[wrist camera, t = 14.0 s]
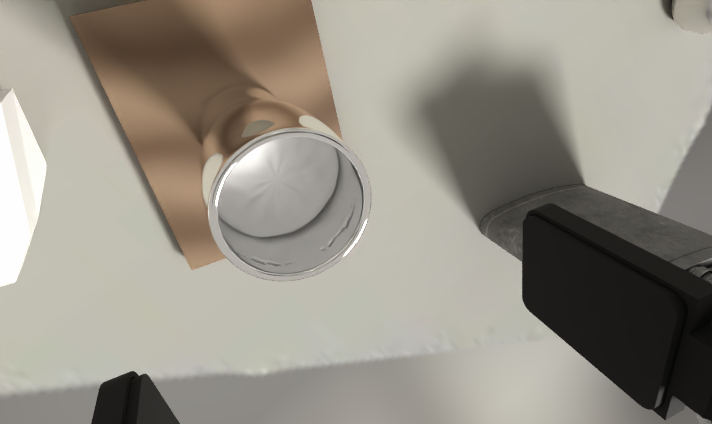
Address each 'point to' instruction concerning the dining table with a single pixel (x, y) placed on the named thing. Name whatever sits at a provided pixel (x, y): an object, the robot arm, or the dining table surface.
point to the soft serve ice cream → (17, 186)
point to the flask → (606, 226)
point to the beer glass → (278, 186)
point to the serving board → (199, 84)
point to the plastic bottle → (693, 15)
